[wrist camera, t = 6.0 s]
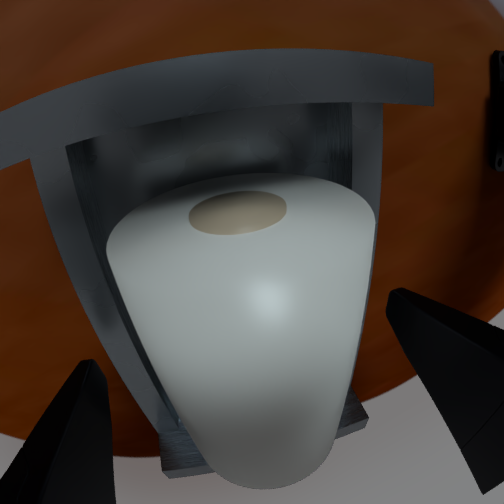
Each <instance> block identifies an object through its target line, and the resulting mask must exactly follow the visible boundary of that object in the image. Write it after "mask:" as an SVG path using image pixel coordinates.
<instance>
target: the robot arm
mask: <svg viewBox="0 0 504 504" xmlns="http://www.w3.org/2000/svg"><path fill="white" fill-rule="evenodd" d="M493 69H494V113H493V132H492V144H491V154H490V167H491V168H492V169H494V170H496V171H499V172H500V171H504V51H499V50H495V51H494V53H493ZM386 316H387V319H388V321H389V323H390V324H391V326H392V328H393V330H394V332H395V334H396V337H397V339H398V341H399V343H400V345H401V347H402V349H403V351H404V353H405V354H406V356H407V358H408V360H409V361H410V363H411V364H412V366H413V368H414V369H415V371H416V373H417V374H418V376H419V378H420V379H421V381H422V383H423V384H424V386H425V388H426V389H427V391H428V393H429V394H430V396H431V398H432V400H433V401H434V403H435V405H436V407H437V408H438V410H439V412H440V414H441V415H442V417H443V419H444V421H445V423H446V424H447V426H448V428H449V430H450V432H451V433H452V435H453V437H454V439H455V441H456V443H457V444H458V446H459V448H460V449H461V452H462V454H463V456H464V458H465V460H466V462H467V464H468V466H469V468H470V470H471V472H472V474H473V476H474V478H475V480H476V483H477V484H478V487H479V489H480V491H481V493H482V494H483V495H484V494H485V493H487V492H488V491H490V490H491V489H493V488H495V487H496V486H498V485H499V484H500V483H502V482H503V481H504V330H503V329H500V328H498V327H496V326H492V325H491V324H489V323H487V322H484V321H482V320H479V319H477V318H475V317H472V316H470V315H468V314H465V313H463V312H461V311H458V310H456V309H453V308H451V307H449V306H446V305H444V304H441V303H439V302H437V301H434V300H432V299H429V298H427V297H424V296H422V295H420V294H417V293H415V292H412V291H410V290H407V289H405V288H397V289H394V290H392V291H390V293H389V297H388V302H387V306H386ZM0 504H116V497H115V486H114V471H113V450H112V425H111V416H110V407H109V397H108V386H107V380H106V377H105V375H104V374H103V372H102V371H101V369H100V367H99V366H98V364H97V363H96V361H95V360H93V359H88V360H82V361H80V362H79V364H78V365H77V366H76V368H75V369H74V370H73V372H72V373H71V375H70V376H69V377H68V379H67V380H66V382H65V383H64V384H63V386H62V387H61V389H60V390H59V392H58V393H57V394H56V396H55V397H54V399H53V400H52V402H51V403H50V405H49V406H48V408H47V409H46V410H45V412H44V413H43V415H42V416H41V418H40V419H39V421H38V422H37V424H36V425H35V427H34V429H33V430H32V432H31V433H30V435H29V436H28V438H27V439H26V441H25V443H24V444H23V447H22V448H21V449H20V450H19V452H18V454H17V455H16V457H15V458H14V460H13V461H12V463H11V465H10V466H9V468H8V469H7V471H6V472H5V473H4V475H3V476H2V478H1V479H0Z"/></svg>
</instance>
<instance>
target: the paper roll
mask: <svg viewBox="0 0 504 504" xmlns="http://www.w3.org/2000/svg"><path fill="white" fill-rule="evenodd" d="M374 232H375V216H374V213H373V211H372V209H371V207H370V206H369V204H368V203H367V202H366V201H365V200H364V199H363V198H362V197H361V196H360V195H358V194H357V193H355V192H353V191H352V190H350V189H348V188H346V187H344V186H342V185H339V184H337V183H334V182H331V181H327V180H324V179H320V178H315V177H311V176H304V175H297V174H286V173H250V174H238V175H230V176H224V177H218V178H212V179H207V180H203V181H199V182H195V183H191V184H188V185H185V186H181V187H178V188H175V189H173V190H170V191H168V192H165V193H163V194H161V195H158V196H156V197H154V198H152V199H150V200H148V201H146V202H145V203H143V204H141V205H140V206H138V207H137V208H135V209H134V210H132V211H131V212H130V213H128V214H127V215H126V216H125V217H124V218H123V219H122V220H121V221H120V222H119V223H118V224H117V225H116V226H115V228H114V229H113V231H112V232H111V234H110V236H109V239H108V242H107V248H106V252H107V257H108V261H109V264H110V266H111V269H112V272H113V275H114V277H115V280H116V283H117V285H118V288H119V290H120V293H121V296H122V298H123V301H124V303H125V306H126V308H127V310H128V313H129V315H130V318H131V320H132V322H133V325H134V327H135V329H136V331H137V334H138V336H139V338H140V340H141V343H142V345H143V347H144V349H145V351H146V353H147V356H148V358H149V360H150V362H151V364H152V366H153V368H154V370H155V372H156V374H157V376H158V378H159V380H160V382H161V384H162V386H163V388H164V390H165V392H166V394H167V396H168V397H169V399H170V401H171V403H172V405H173V407H174V409H175V410H176V412H177V414H178V416H179V418H180V419H181V421H182V423H183V425H184V426H185V428H186V430H187V431H188V433H189V435H190V437H191V438H192V440H193V442H194V443H195V445H196V446H197V448H198V450H199V451H200V453H201V454H202V456H203V458H204V459H205V461H206V462H207V463H208V465H209V466H210V467H211V468H212V469H213V470H214V471H215V472H216V473H217V474H219V475H220V476H221V477H223V478H224V479H226V480H228V481H230V482H232V483H234V484H237V485H240V486H243V487H248V488H253V489H274V488H281V487H285V486H288V485H291V484H294V483H296V482H298V481H301V480H302V479H304V478H306V477H307V476H309V475H310V474H311V473H313V472H314V471H315V470H316V469H317V468H318V467H319V466H320V465H321V464H322V463H323V462H324V461H325V459H326V458H327V456H328V454H329V452H330V450H331V448H332V446H333V443H334V439H335V436H336V433H337V429H338V426H339V422H340V419H341V415H342V411H343V407H344V403H345V400H346V396H347V392H348V387H349V383H350V379H351V375H352V370H353V366H354V361H355V356H356V352H357V347H358V342H359V337H360V331H361V326H362V320H363V315H364V309H365V302H366V296H367V289H368V283H369V275H370V268H371V260H372V251H373V242H374Z"/></svg>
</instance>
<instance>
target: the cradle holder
mask: <svg viewBox="0 0 504 504" xmlns="http://www.w3.org/2000/svg"><path fill="white" fill-rule="evenodd" d="M383 103H396V104H411V105H424V106H434V76H433V63H428V62H423V61H418V60H413V59H407V58H401V57H395V56H388V55H381V54H373V53H364V52H354V51H342V50H325V49H257V50H240V51H228V52H218V53H209V54H200V55H193V56H186V57H180V58H173V59H168V60H162V61H157V62H152V63H147V64H142V65H138V66H133V67H129V68H125V69H121V70H117V71H113V72H109V73H105V74H102V75H98V76H95V77H91V78H88V79H85V80H82V81H78V82H75V83H72V84H69V85H66V86H64V87H61V88H58V89H55V90H52V91H50V92H47V93H44V94H42V95H39V96H37V97H34V98H32V99H29V100H27V101H25V102H22V103H20V104H18V105H15V106H13V107H11V108H9V109H7V110H5V111H2V112H0V170H1V169H3V168H6V167H8V166H11V165H13V164H16V163H18V162H21V161H23V160H26V159H29V158H30V160H31V164H32V168H33V172H34V176H35V179H36V183H37V187H38V190H39V194H40V197H41V200H42V203H43V207H44V210H45V213H46V216H47V219H48V222H49V225H50V228H51V230H52V233H53V236H54V239H55V242H56V244H57V247H58V249H59V252H60V255H61V257H62V260H63V262H64V265H65V267H66V270H67V272H68V274H69V277H70V279H71V281H72V284H73V286H74V288H75V290H76V293H77V295H78V297H79V299H80V301H81V303H82V306H83V308H84V310H85V312H86V314H87V316H88V318H89V320H90V322H91V324H92V326H93V328H94V330H95V332H96V334H97V335H98V337H99V339H100V341H101V343H102V345H103V347H104V348H105V350H106V352H107V354H108V356H109V357H110V359H111V361H112V363H113V364H114V366H115V368H116V370H117V371H118V373H119V375H120V376H121V378H122V380H123V381H124V383H125V384H126V386H127V388H128V389H129V391H130V392H131V394H132V396H133V397H134V399H135V400H136V402H137V403H138V405H139V406H140V408H141V409H142V411H143V412H144V414H145V415H146V417H147V418H148V419H149V421H150V422H151V424H152V425H153V427H154V428H155V429H156V431H157V432H158V437H159V448H160V458H161V467H162V472H163V473H164V474H165V475H166V476H167V477H168V478H178V477H187V476H194V475H200V474H207V473H213V472H215V471H214V470H213V469H212V468H211V467H210V466H209V465H208V463H207V462H206V461H205V459H204V458H203V456H202V454H201V453H200V451H199V450H198V448H197V446H196V445H195V443H194V442H193V440H192V438H191V437H190V435H189V433H188V431H187V430H186V428H185V426H184V425H183V423H182V421H181V419H180V418H179V416H178V414H177V412H176V410H175V409H174V407H173V405H172V403H171V401H170V399H169V397H168V396H167V394H166V392H165V390H164V388H163V386H162V384H161V382H160V380H159V378H158V376H157V374H156V372H155V370H154V368H153V366H152V364H151V362H150V360H149V358H148V356H147V353H146V351H145V349H144V347H143V345H142V343H141V340H140V338H139V336H138V334H137V331H136V329H135V327H134V325H133V322H132V320H131V318H130V315H129V313H128V310H127V308H126V306H125V303H124V301H123V298H122V296H121V293H120V290H119V288H118V285H117V283H116V280H115V277H114V275H113V272H112V269H111V266H110V264H109V261H108V257H107V252H106V248H107V242H108V239H109V236H110V234H111V232H112V231H113V229H114V228H115V226H116V225H117V224H118V223H119V222H120V221H121V220H122V219H123V218H124V217H125V216H126V215H127V214H128V213H130V212H131V211H132V210H134V209H135V208H137V207H138V206H140V205H141V204H143V203H145V202H146V201H148V200H150V199H152V198H154V197H156V196H158V195H161V194H163V193H165V192H168V191H170V190H173V189H175V188H178V187H181V186H185V185H188V184H191V183H195V182H199V181H203V180H207V179H212V178H218V177H224V176H230V175H238V174H250V173H286V174H297V175H304V176H311V177H315V178H320V179H324V180H327V181H331V182H334V183H337V184H339V185H342V186H344V187H346V188H348V189H350V190H352V191H353V192H355V193H357V194H358V195H360V196H361V197H362V198H363V199H364V200H365V201H366V202H367V203H368V204H369V206H370V207H371V209H372V211H373V213H374V216H375V232H374V242H373V251H372V260H371V268H370V275H369V283H368V289H367V296H366V302H365V309H364V315H363V320H362V326H361V331H360V337H359V342H358V347H357V352H356V356H355V361H354V366H353V370H352V375H351V379H350V383H349V387H348V392H347V396H346V400H345V403H344V407H343V411H342V415H341V419H340V422H339V426H338V429H337V433H336V436H335V439H337V438H340V437H343V436H345V435H348V434H350V433H353V432H355V431H358V430H360V429H363V428H365V426H366V424H367V421H368V419H369V417H368V415H367V413H366V411H365V410H364V408H363V406H362V404H361V403H360V401H359V399H358V398H357V396H356V394H355V392H354V391H353V389H352V387H351V386H350V385H351V381H352V377H353V372H354V368H355V364H356V359H357V355H358V350H359V345H360V340H361V335H362V330H363V325H364V320H365V314H366V308H367V302H368V296H369V290H370V283H371V277H372V269H373V262H374V254H375V246H376V236H377V227H378V216H379V204H380V190H381V172H382V142H383ZM335 439H334V440H335Z"/></svg>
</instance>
